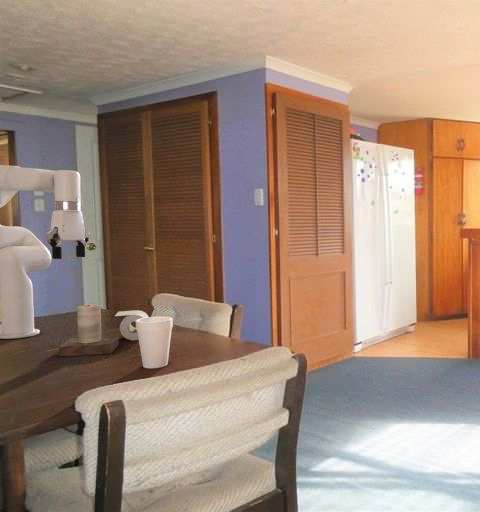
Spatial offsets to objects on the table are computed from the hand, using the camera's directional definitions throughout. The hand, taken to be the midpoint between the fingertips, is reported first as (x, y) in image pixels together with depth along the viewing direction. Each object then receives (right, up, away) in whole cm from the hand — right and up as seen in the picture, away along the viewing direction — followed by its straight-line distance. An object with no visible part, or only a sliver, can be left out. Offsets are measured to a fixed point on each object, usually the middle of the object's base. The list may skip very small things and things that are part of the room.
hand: (69, 257), depth 178 cm
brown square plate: (+15, -29, -14) cm, 35 cm away
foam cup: (+42, -30, -30) cm, 60 cm away
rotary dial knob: (+15, -26, -14) cm, 33 cm away
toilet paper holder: (+22, -28, +6) cm, 36 cm away
